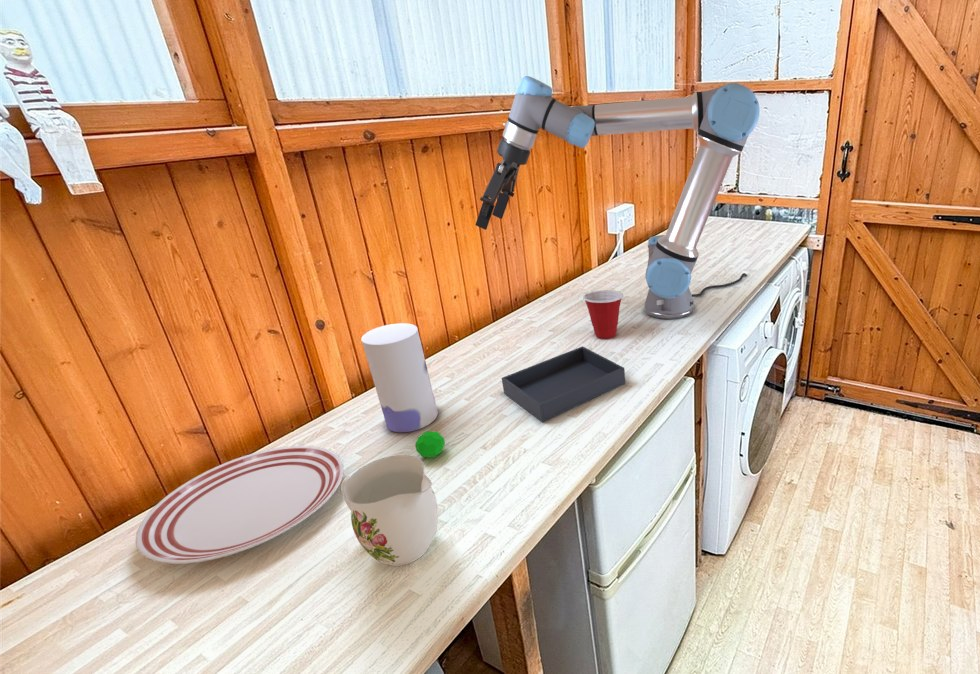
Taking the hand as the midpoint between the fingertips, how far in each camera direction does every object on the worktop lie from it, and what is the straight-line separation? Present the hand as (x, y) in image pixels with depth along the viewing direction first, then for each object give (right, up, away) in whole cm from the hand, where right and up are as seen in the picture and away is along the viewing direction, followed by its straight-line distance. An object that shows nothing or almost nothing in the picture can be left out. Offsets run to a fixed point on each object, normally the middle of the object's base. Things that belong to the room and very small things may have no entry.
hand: (489, 221), depth 135 cm
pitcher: (+5, -62, -58) cm, 85 cm away
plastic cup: (+30, -30, +9) cm, 43 cm away
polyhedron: (+1, -52, -38) cm, 65 cm away
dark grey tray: (+23, -42, -17) cm, 51 cm away
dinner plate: (-23, -59, -50) cm, 80 cm away
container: (-8, -48, -27) cm, 55 cm away
